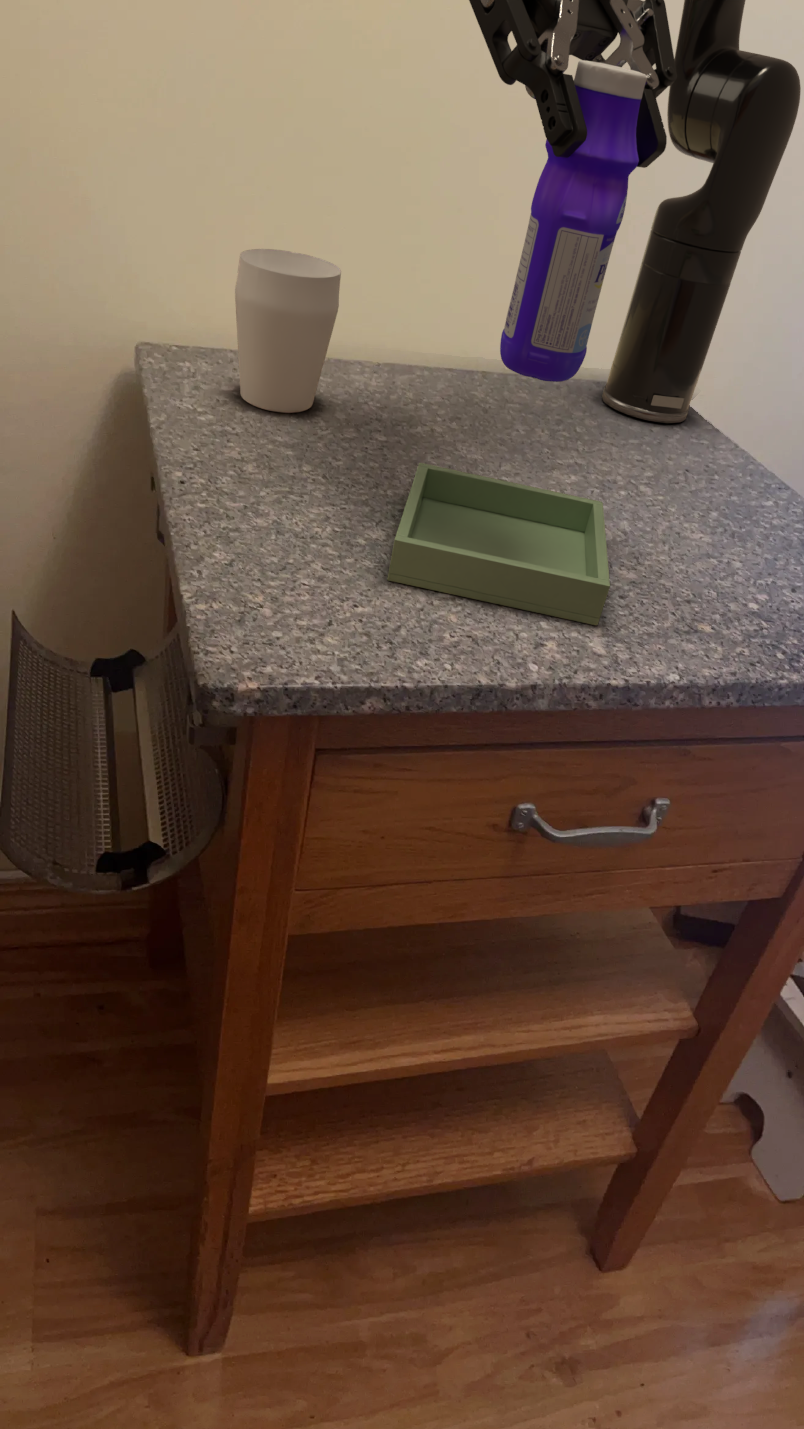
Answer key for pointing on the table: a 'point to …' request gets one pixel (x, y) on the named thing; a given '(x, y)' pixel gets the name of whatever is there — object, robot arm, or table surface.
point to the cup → (283, 326)
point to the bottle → (574, 229)
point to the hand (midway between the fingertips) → (612, 153)
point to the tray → (503, 544)
